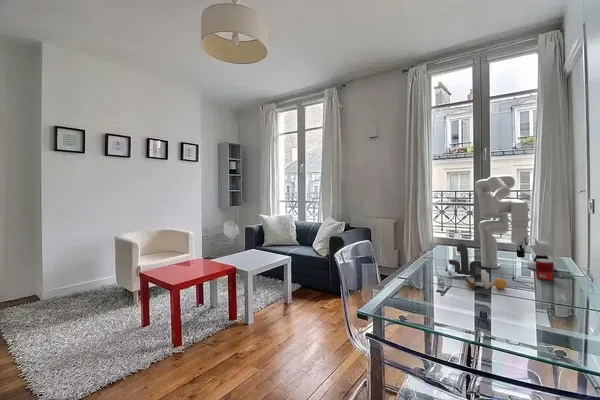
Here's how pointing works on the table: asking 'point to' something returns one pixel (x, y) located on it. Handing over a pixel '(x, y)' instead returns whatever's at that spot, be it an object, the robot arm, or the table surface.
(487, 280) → the pin
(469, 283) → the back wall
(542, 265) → the canned food
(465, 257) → the faucet
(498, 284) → the ball
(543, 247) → the decorative figurine
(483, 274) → the pin
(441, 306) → the table surface
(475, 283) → the front pin
